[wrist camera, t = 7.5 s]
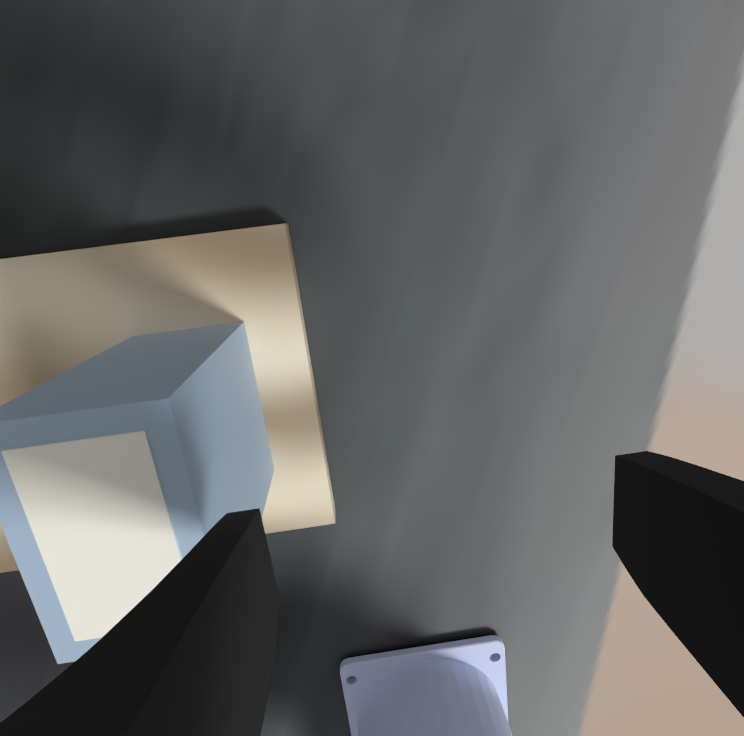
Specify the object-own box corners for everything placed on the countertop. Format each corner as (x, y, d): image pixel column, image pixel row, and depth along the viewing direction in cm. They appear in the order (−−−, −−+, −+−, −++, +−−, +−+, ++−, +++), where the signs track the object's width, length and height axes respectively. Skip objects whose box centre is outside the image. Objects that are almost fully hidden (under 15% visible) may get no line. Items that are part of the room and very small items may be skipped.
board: (335, 509, 21) (335, 523, 20) (-40, 564, 20) (-59, 581, 19) (287, 223, 17) (284, 223, 16) (-168, 280, 16) (-199, 283, 16)
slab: (274, 469, 19) (230, 639, 11) (172, 484, 19) (56, 665, 11) (244, 321, 17) (167, 399, 9) (131, 336, 17) (-42, 428, 9)
